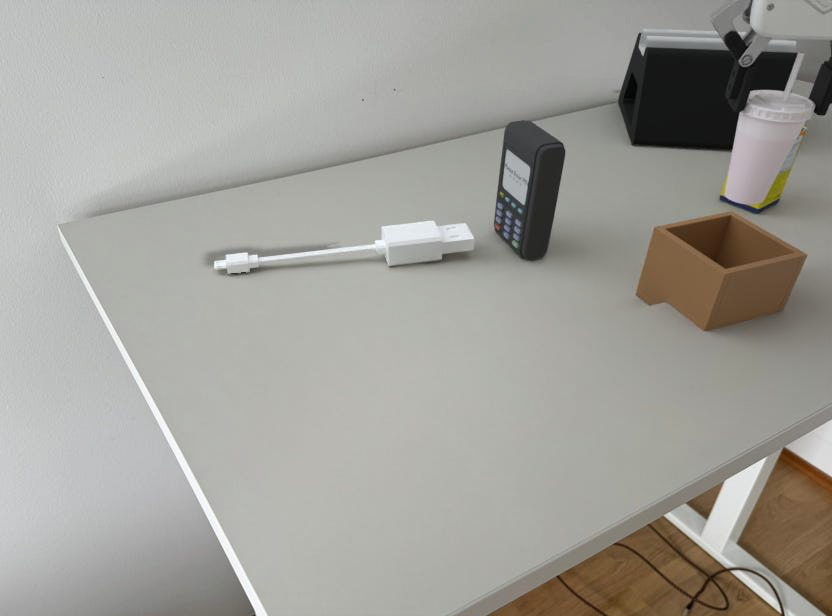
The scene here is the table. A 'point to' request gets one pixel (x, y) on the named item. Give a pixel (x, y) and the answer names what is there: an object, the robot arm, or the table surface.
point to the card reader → (528, 188)
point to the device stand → (691, 87)
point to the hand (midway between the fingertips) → (775, 107)
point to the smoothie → (765, 139)
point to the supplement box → (777, 185)
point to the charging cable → (379, 247)
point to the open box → (719, 270)
